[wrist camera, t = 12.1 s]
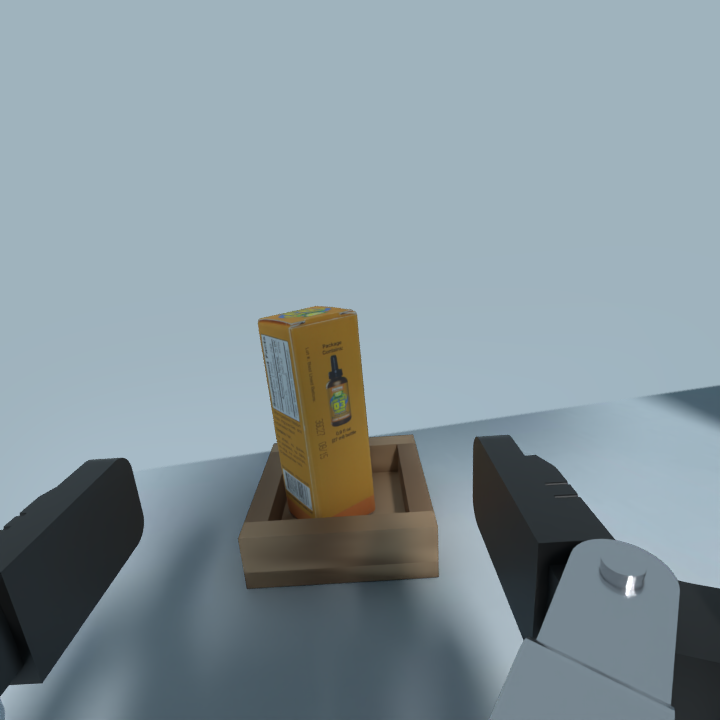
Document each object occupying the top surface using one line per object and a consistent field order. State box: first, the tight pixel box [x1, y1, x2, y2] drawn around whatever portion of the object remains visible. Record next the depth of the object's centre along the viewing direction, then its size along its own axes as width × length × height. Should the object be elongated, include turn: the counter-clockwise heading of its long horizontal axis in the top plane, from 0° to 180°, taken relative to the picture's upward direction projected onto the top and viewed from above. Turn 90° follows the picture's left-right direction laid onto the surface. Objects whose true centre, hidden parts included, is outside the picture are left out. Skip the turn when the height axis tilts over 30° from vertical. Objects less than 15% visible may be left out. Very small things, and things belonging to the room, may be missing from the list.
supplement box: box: [258, 306, 375, 519], centre depth 20 cm, size 3×4×10 cm
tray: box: [238, 435, 439, 589], centre depth 22 cm, size 8×8×2 cm
